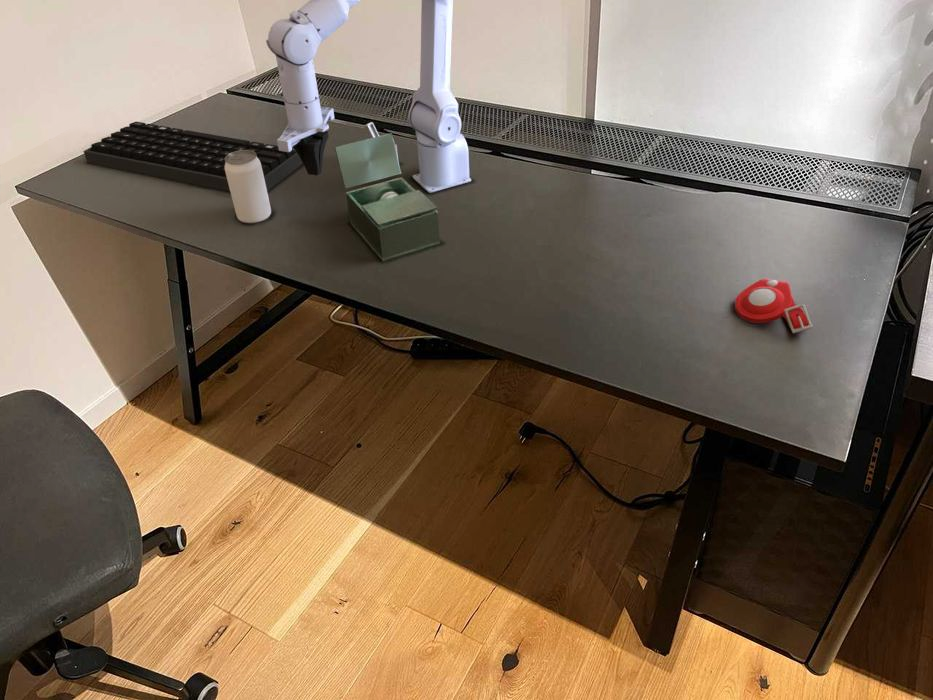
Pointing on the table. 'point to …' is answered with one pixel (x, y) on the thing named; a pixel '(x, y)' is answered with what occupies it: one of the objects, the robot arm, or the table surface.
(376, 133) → the lighter
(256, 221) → the can
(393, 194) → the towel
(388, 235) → the green lidded box
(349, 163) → the green flat panel
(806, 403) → the table surface
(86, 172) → the table surface
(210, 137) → the computer keyboard
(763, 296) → the tracker holder
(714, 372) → the table surface
